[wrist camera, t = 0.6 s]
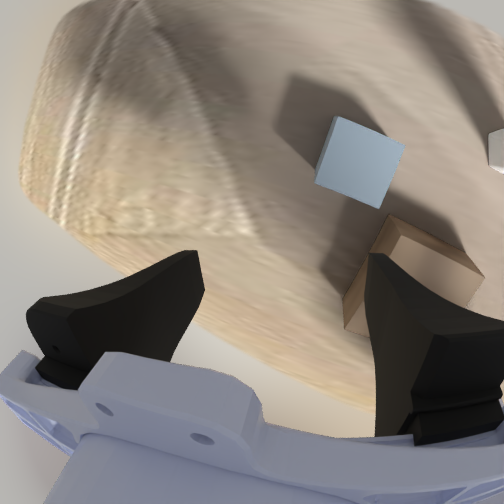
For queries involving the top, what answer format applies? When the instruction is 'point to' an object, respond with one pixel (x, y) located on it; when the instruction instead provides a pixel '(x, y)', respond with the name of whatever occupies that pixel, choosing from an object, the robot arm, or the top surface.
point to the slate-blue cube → (357, 162)
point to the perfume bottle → (496, 150)
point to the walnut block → (414, 269)
